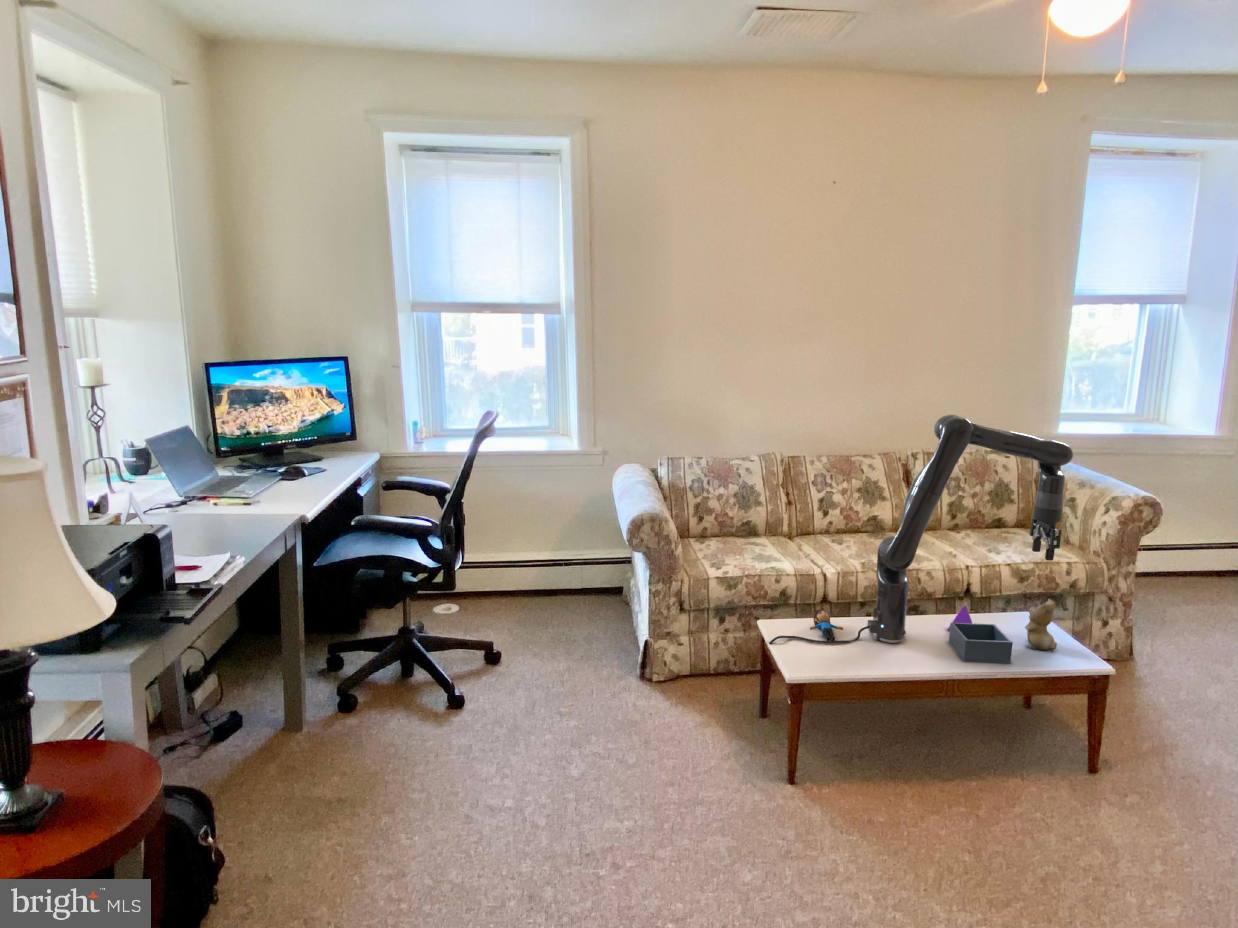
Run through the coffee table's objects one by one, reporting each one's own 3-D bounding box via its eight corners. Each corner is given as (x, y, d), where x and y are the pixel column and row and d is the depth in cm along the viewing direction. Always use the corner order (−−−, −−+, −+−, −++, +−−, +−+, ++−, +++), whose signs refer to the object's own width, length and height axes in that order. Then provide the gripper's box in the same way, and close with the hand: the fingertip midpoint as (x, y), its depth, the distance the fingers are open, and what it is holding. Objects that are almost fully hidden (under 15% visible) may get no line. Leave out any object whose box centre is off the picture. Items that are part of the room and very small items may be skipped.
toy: (814, 633, 240) (804, 605, 253) (812, 648, 242) (802, 619, 256) (849, 633, 240) (836, 605, 253) (846, 648, 242) (834, 619, 256)
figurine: (1018, 637, 245) (1023, 593, 242) (1047, 640, 243) (1052, 596, 240) (1028, 650, 235) (1033, 605, 232) (1058, 653, 234) (1064, 607, 231)
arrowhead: (959, 646, 248) (939, 620, 252) (961, 645, 249) (941, 619, 253) (984, 632, 242) (963, 606, 245) (986, 631, 243) (965, 604, 247)
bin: (963, 661, 228) (965, 640, 226) (948, 642, 241) (950, 622, 240) (1010, 663, 227) (1012, 642, 225) (992, 644, 240) (994, 624, 238)
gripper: (1025, 499, 239) (1019, 548, 242) (1047, 510, 225) (1040, 562, 228) (1050, 500, 239) (1043, 549, 242) (1073, 511, 225) (1066, 563, 228)
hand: (1042, 555), depth 235 cm, fingers open, 8 cm apart
